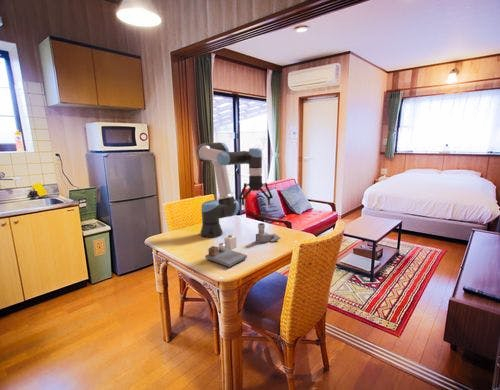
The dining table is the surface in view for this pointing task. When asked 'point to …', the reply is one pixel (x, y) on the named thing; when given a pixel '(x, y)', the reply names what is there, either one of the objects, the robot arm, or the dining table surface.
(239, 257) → the grey flat block
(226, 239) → the plastic part
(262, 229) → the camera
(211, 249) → the walnut part
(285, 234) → the dining table surface
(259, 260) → the dining table surface
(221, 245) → the metal part
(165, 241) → the dining table surface
